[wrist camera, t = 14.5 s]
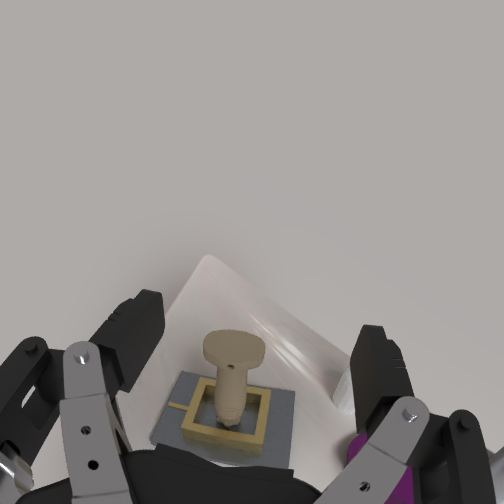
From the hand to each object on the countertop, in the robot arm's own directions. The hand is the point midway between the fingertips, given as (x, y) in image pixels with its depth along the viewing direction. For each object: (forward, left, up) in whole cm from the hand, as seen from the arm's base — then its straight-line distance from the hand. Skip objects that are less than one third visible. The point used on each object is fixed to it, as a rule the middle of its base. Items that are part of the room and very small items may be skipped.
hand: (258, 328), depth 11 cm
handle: (-4, -13, -29) cm, 32 cm away
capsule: (-23, -10, -30) cm, 39 cm away
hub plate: (-4, -13, -30) cm, 33 cm away
